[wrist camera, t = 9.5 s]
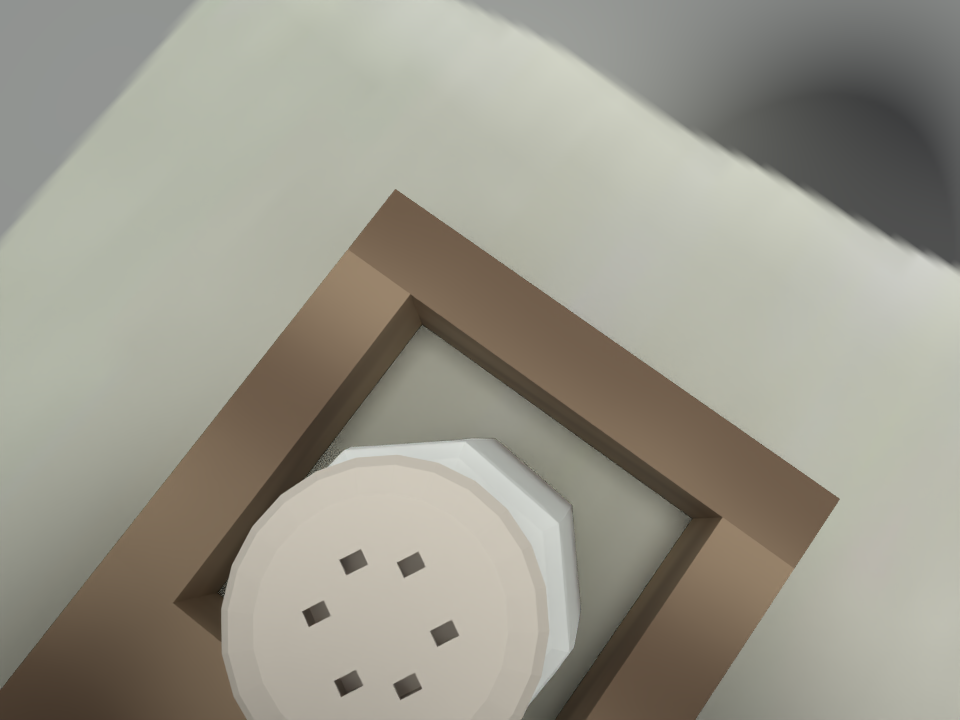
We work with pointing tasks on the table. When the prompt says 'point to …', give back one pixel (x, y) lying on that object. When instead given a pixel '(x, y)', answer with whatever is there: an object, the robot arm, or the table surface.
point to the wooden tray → (325, 411)
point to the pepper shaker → (404, 589)
